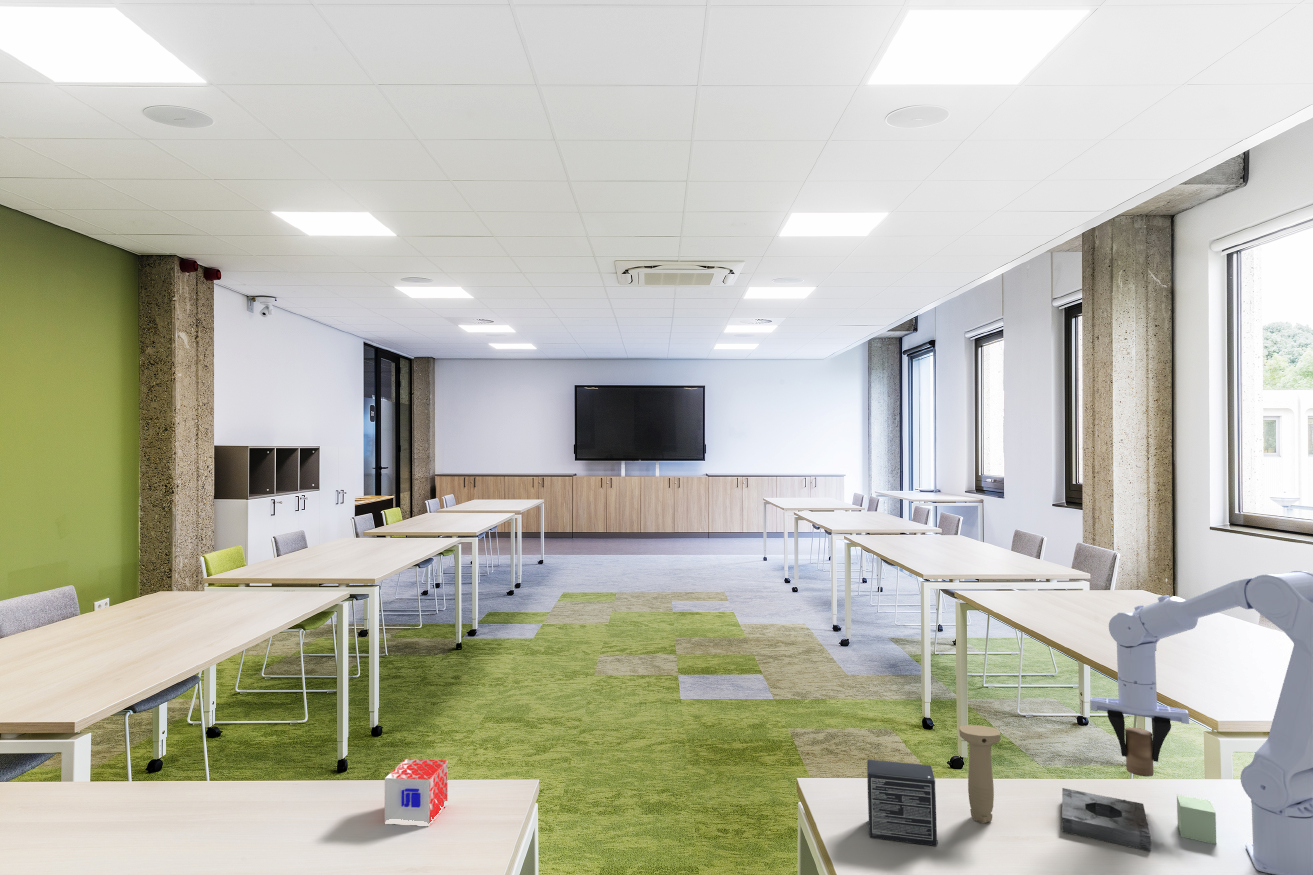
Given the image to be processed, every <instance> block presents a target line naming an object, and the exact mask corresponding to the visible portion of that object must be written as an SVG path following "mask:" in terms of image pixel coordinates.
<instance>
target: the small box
mask: <svg viewBox="0 0 1313 875" xmlns="http://www.w3.org/2000/svg"><path fill="white" fill-rule="evenodd" d="M866 761H867V762H866V763H867V764H866V765H867V766H866V769H867V774H866V776H867V804H868V805H867V806H868V807H867V809H868V813H867V814H868V837H869V838H870V839H878V840H883V841H884V840H886V841H887V840H888V841H893V842H894V841H895V842H902V843H910V844H917V845H927V846H934V847H936V846H938V845H939V842H938V832H937V827H938V826H937V800H936V797H937V796H936V778H935V775H934V770H933V766H932V765H928V764H918V763H908V762H898V761H897V762H896V761H886V760H876V759H867V760H866Z"/></svg>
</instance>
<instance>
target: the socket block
mask: <svg viewBox="0 0 1313 875" xmlns="http://www.w3.org/2000/svg"><path fill="white" fill-rule="evenodd" d="M1061 790H1062V792H1061V795H1062V796H1061V806H1062V807H1061V822H1062V823H1061V825H1062V829H1061V830H1062V831H1061V832H1062V833H1066V834H1070V835H1075V836H1079V837H1084V838H1088V839H1092V840H1097V841H1102V842H1106V843H1111V844H1115V845H1119V846H1123V847H1129V848H1132V849H1138V850H1142V851H1147V852H1152V844H1151V843H1152V842H1151V840H1152V839H1151V831H1150V828H1149V824H1148V819H1147V815H1146V810H1145V805H1144V803H1142V802H1137V801H1131V800H1126V799H1121V798H1116V797H1112V796H1105V795H1102V794H1101V795H1100V794H1095V793H1090V792H1084V791H1079V790H1075V789H1070V788H1065V787H1062V789H1061Z"/></svg>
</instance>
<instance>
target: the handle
mask: <svg viewBox="0 0 1313 875" xmlns="http://www.w3.org/2000/svg"><path fill="white" fill-rule="evenodd" d="M958 730H959V732H958V733H959V736H960V738H961V739H962V740H963V741H965V742H967V743H968V746H969V749H968V750H969V752H968V753H969V754H968V756H969V757H968V774H967V775H968V776H967V777H968V779H967V780H968V781H967V782H968V783H967V788H968V789H967V790H968V792H967V793H968V802H969V806H970V809H969V810H970V816H971V817H972V819H973V821H974V822H979V823H982V824H987V823H991V822H992V821H993V813H992V812H993V809H994V797H995V791H994V790H995V789H994V788H995V787H994V778H993V777H994V775H993V767H992V766H993V764H992V746H993V745H995V744H997V743H1000V742H1001V731H1000V730H998V729H997V728H995V727H991V726H988V725H987V726H986V725H978V724H977V725H975V724H974V725H973V724H967V725H960V726H959V729H958Z"/></svg>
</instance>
